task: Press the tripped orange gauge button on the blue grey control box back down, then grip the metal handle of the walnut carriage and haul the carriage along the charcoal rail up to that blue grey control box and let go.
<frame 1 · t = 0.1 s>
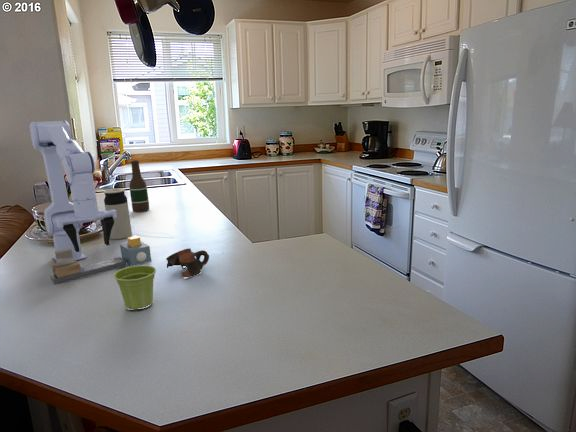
hand: (92, 247, 115), 10 cm above the worktop, tool pointing down, fingers open, 7 cm apart
carriage: (65, 261, 120), point 5 cm above the worktop, slide at -6.0 cm
blue grey control box: (136, 260, 134), on the worktop
plant pot: (139, 306, 102), on the worktop
pottery mug: (189, 273, 121), on the worktop
rail: (90, 272, 125), on the worktop
beer bottle: (141, 210, 203), on the worktop
travel mug: (121, 237, 160), on the worktop
gauge button: (134, 242, 132), point 6 cm above the worktop, slide at 0.0 cm
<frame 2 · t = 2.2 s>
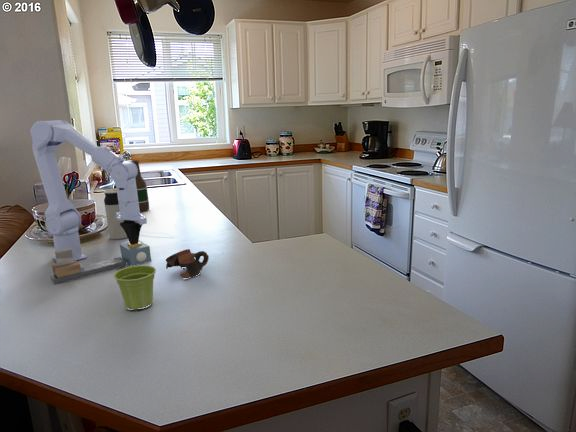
hand: (134, 243, 132), 6 cm above the worktop, tool pointing down, fingers closed, pressing on gauge button
gauge button: (134, 248, 133), point 4 cm above the worktop, slide at 1.9 cm, touching gripper
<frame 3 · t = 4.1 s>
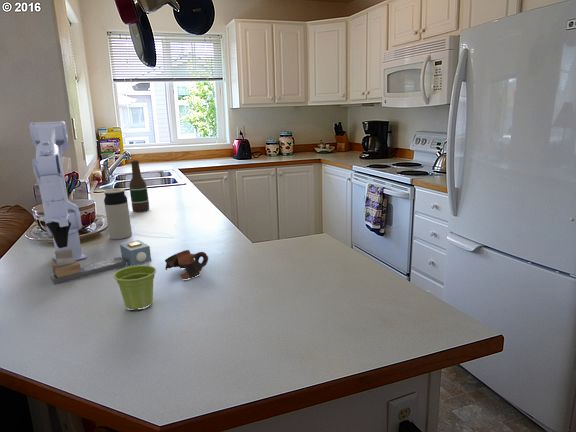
hand: (62, 246, 119), 9 cm above the worktop, tool pointing down, fingers closed
gauge button: (135, 249, 133), point 4 cm above the worktop, slide at 2.0 cm
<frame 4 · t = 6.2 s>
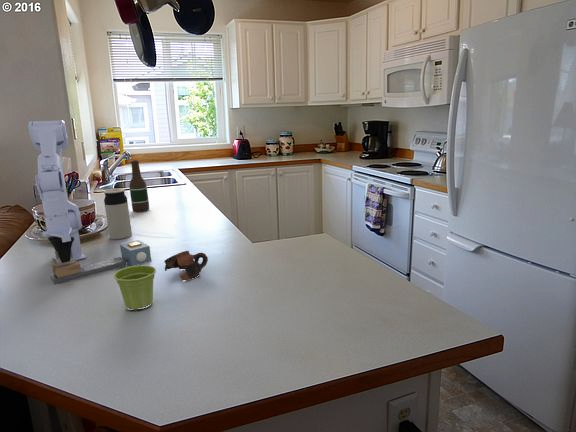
hand: (64, 260, 120), 5 cm above the worktop, tool pointing down, fingers closed on carriage, 2 cm apart
carriage: (65, 261, 120), point 5 cm above the worktop, slide at -6.0 cm, touching gripper
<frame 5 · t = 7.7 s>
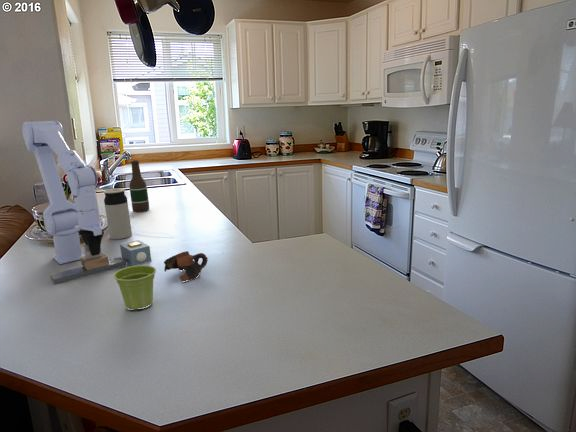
hand: (94, 253, 125), 5 cm above the worktop, tool pointing down, fingers closed on carriage, 2 cm apart
carriage: (93, 254, 125), point 5 cm above the worktop, slide at 1.8 cm, touching gripper
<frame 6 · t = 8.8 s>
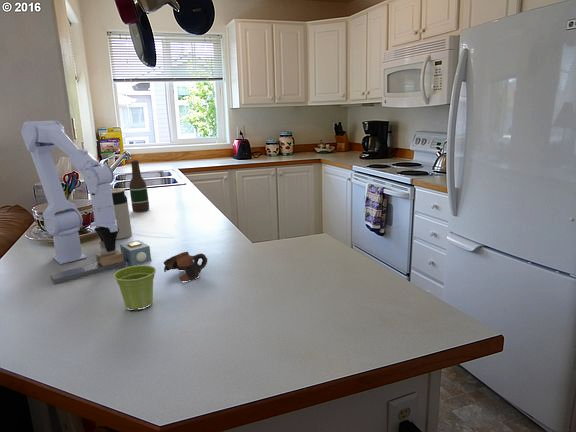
hand: (109, 250, 128), 5 cm above the worktop, tool pointing down, fingers closed on carriage, 2 cm apart
carriage: (108, 251, 127), point 5 cm above the worktop, slide at 6.1 cm, touching gripper
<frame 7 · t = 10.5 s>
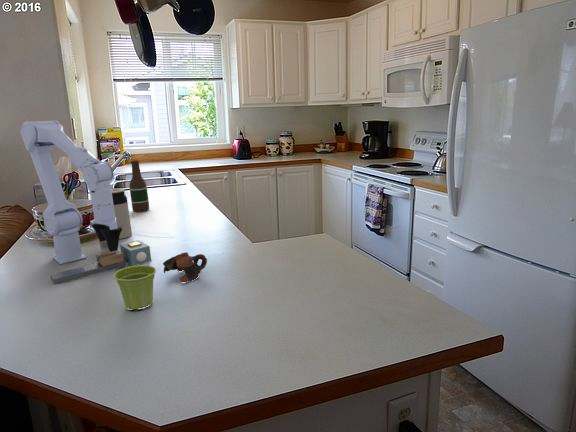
hand: (109, 247, 127), 6 cm above the worktop, tool pointing down, fingers open, 7 cm apart
carriage: (108, 251, 127), point 5 cm above the worktop, slide at 6.1 cm
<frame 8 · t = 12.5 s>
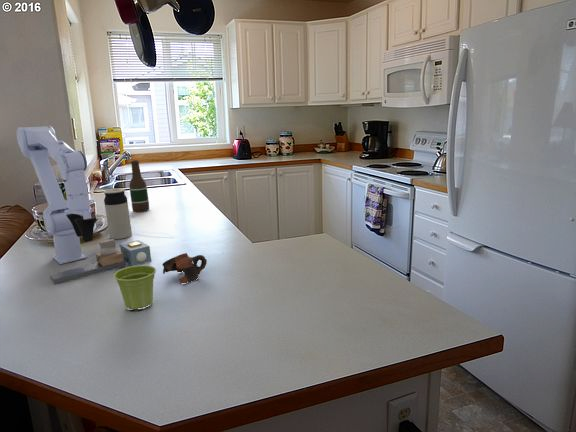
hand: (84, 238, 126), 9 cm above the worktop, tool pointing down, fingers open, 7 cm apart
at the end: gauge button slide at 2.0 cm; carriage slide at 6.1 cm; the gripper is holding nothing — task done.
